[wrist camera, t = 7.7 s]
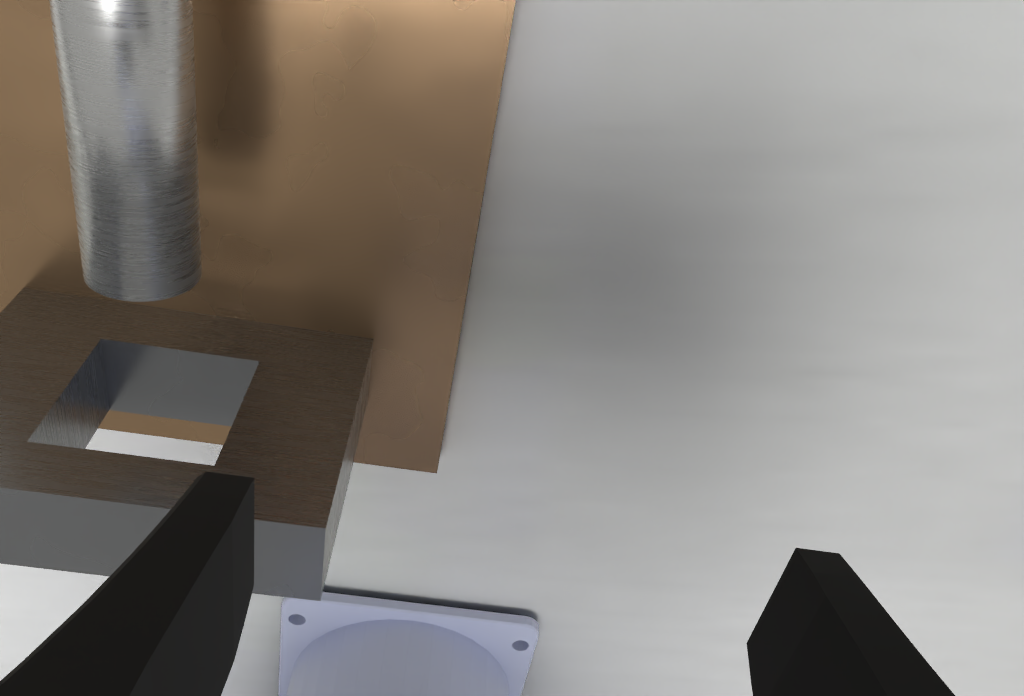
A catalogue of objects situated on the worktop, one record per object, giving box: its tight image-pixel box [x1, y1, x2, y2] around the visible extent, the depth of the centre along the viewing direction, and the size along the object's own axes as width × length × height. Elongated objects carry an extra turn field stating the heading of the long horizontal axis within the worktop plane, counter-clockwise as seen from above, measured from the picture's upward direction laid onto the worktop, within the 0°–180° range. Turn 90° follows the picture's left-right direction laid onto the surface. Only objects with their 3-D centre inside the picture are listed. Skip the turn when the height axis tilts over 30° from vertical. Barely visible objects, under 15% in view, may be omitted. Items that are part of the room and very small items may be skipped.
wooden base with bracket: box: [0, 0, 516, 601], centre depth 15 cm, size 18×12×7 cm, turn 170°
